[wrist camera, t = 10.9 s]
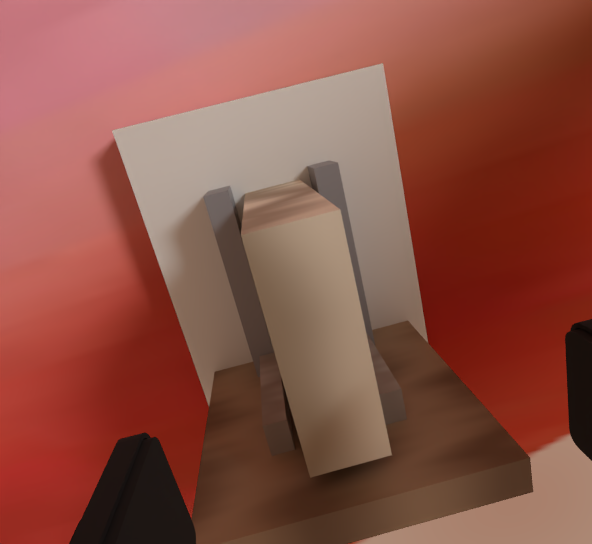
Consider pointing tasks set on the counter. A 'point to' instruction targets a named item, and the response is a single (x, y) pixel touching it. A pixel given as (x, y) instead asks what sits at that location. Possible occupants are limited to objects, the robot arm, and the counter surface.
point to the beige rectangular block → (315, 324)
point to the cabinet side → (359, 478)
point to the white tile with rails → (262, 174)
